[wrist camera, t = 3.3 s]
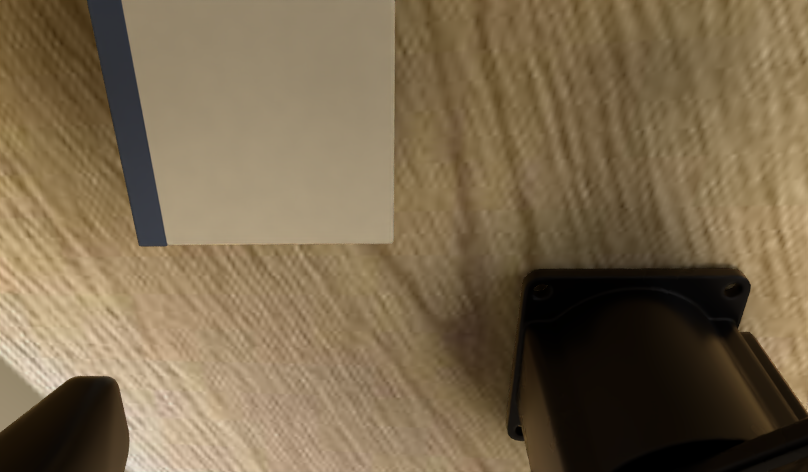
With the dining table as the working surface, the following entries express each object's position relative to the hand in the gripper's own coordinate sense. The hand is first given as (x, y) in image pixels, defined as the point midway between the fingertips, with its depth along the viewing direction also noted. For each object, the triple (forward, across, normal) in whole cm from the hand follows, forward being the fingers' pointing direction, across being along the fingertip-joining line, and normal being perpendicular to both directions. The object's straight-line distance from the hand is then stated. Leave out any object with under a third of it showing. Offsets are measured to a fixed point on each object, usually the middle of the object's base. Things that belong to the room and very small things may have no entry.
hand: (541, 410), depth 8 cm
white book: (+12, +4, -1) cm, 12 cm away
